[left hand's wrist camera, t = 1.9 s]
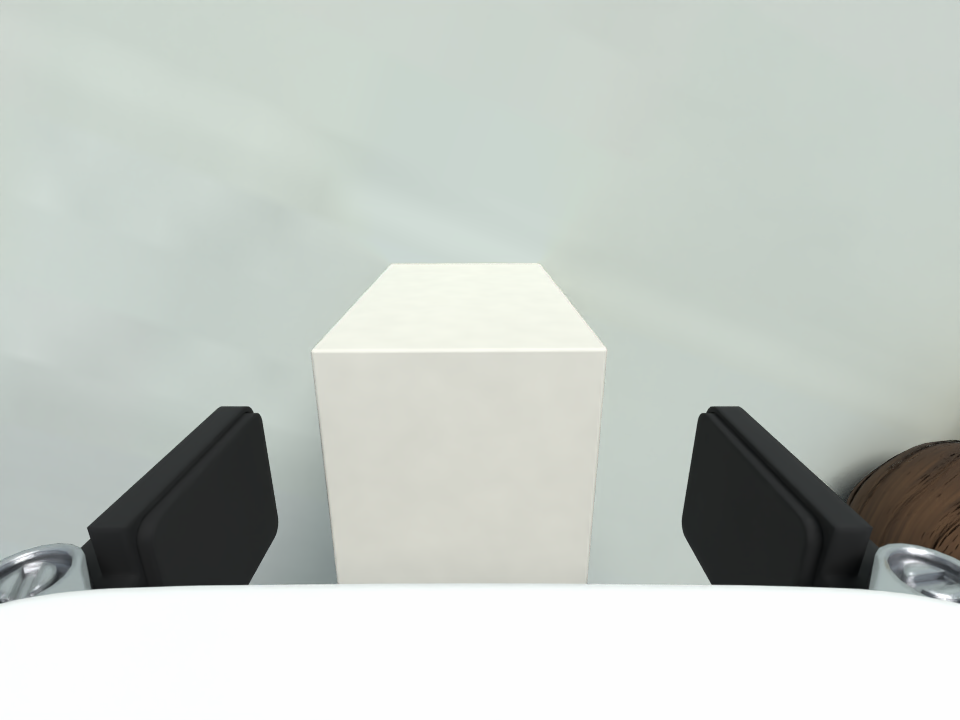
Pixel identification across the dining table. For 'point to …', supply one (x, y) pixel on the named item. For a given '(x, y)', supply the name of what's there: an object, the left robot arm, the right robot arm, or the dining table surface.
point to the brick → (460, 428)
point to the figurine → (914, 498)
